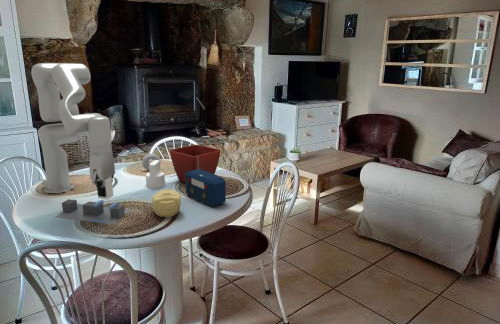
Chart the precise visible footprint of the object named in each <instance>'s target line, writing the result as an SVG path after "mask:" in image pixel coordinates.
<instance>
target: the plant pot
mask: <svg viewBox="0 0 500 324" xmlns="http://www.w3.org/2000/svg"><path fill="white" fill-rule="evenodd" d="M221 151H222V150H221V149H217V148H213V147H210V146H206V145H205V146H204V145H200V144H191V145H186V146H183V147H178V148H173V149H169V154H170V155H169V156H170V158H171V162H172V166H173V169H174V172H175V174H176V176H177V179H178V181H179V182H181V181H182V183H184V182H186V176H185V173H187V172H189V171H193V170H197V169H198V160H199V169H201V170H204V171H207V172H209V173H212V174H215V175H216V171H217V168H218V164H219V160H220V158H221V157H220V156H221Z"/></svg>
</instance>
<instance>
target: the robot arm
mask: <svg viewBox="0 0 500 324" xmlns="http://www.w3.org/2000/svg"><path fill="white" fill-rule="evenodd" d="M31 78H32V81H33V84H34V85H35V87H36V90H37V95H38V96H37V98H38V107H39V115H40V118H41V119H42V121H44V122H46V123H51V124H45V125H42V126H40V128H38V130H37V135H38V138H39V142H40V145H41V149H42V156H43V160H44V161H43V162H44V168H45V177H46V179H43V180H42V182H41V183H40V185H43V186H45V188H44V189H43V190H44V193H45V194H48V193H60V194H63V193H62V192H65V193H67V192H66V191H68V192H70V191H69V190H71V189H73V188H75V185H74V184H73V183H71V182H70V172H69V164H68V162H69V161H68V154H67V152H66V150H64V148H62V147H61V145H63V144H69V143H76V142H78V141H79V140H80V138H81V135H87V134H88V138H89V148H90V154H89V164H88V165H89V178H90V180H91V184H93V185H94V186H95V187H96V189H97V190H96V191H97V192H96V193H97V197H98V196H99V197H106V189H105V187H104V179H106V178H107V177H109V176H112V183H113V182H114V180H113V179H114V176H115V174H116V167H115V159H114V155H113V148H112V147H113V145H112V135H111V125H110V124H111V123H110V118H109V117H107V116H106V115H105V116H104V115H102V114H101V113H97V112H91V113H80V111H79V107H78V104H79V103H80V102H82V101H83V100H84V99H85V97H86V95H87V94H86V91H85V88H84V87H83V85H87V84H88V83H89V82H90V81H91V72H90V69H89V68H88V66H86V65H85V64H83V63H72V62H65V63H64V62H63V63H62V62H41V63H36V64H34V65H33V66H32V67H31ZM61 96H62V99H61ZM54 122H55V123H54ZM56 122H61V123H56ZM99 181H101V183H100V182H99ZM73 190H74V189H73ZM71 191H72V190H71Z"/></svg>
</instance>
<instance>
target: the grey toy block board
mask: <svg viewBox="0 0 500 324" xmlns="http://www.w3.org/2000/svg"><path fill="white" fill-rule="evenodd" d="M61 205H62V212H61V213H60V212H59V214H57V215H56V216H54V218H58V219H67V220H74V221H81V222H82V221H83V222H90V223H91V222H92V223H98V224H107V225H113V224H115V223H116V222H117V221H118V220H120V219H121V218H123V217H124V216H125V217H124V219H126V218H127V217H128V216H129V215H131V214H132V212H131V209H127V208H125V205H124V204H120V202H119V201H115V202H114V203H112V204H110V205H109V206H104V199H101V200H98V201H97V202H96V201H87V202H86V203H82V204H81V203H77V199H69V198H68V199H66V200H64V201H63V202H61ZM128 213H129V214H128ZM126 214H128V215H126ZM122 221H123V219H121V220H120V221H119V222H117V223H116V224H115V226H116V225H118V224H119V223H121V222H122ZM111 228H114V226H112V227H111Z"/></svg>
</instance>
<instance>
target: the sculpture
mask: <svg viewBox="0 0 500 324" xmlns="http://www.w3.org/2000/svg"><path fill="white" fill-rule="evenodd" d="M151 203H152V205H151V206H152V209H153V212H154V213H155V214H156V216H158V217H161V218H169V217H173V216H176V215H177V214H178V213H179V211H180V209H181V206H182V200H181V194H180V193H179V192H177V191H175V190H174V189H162V190H158V191H157V192H156V193H155V194H153V195H152V202H151Z"/></svg>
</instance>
